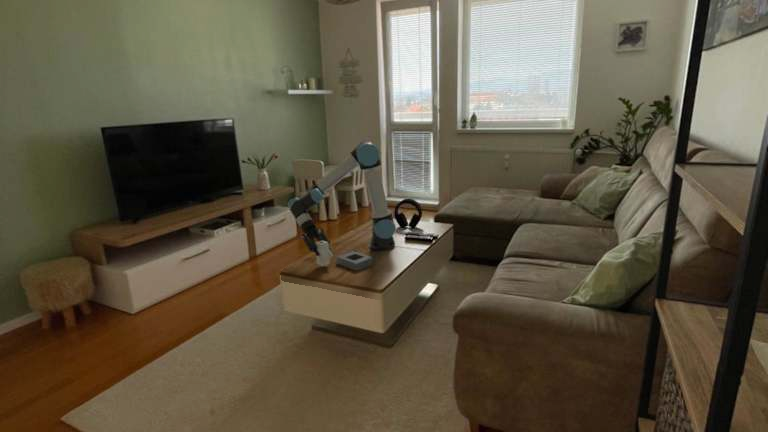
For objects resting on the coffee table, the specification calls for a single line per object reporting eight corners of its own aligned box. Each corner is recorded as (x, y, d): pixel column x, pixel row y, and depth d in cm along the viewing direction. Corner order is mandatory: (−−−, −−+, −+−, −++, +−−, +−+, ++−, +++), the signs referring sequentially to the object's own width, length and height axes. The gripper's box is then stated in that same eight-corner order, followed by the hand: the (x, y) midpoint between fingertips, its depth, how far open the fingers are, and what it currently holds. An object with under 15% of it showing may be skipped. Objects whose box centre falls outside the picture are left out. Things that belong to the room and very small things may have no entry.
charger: (316, 264, 227) (315, 242, 224) (324, 261, 230) (322, 239, 227) (322, 266, 223) (320, 244, 220) (329, 263, 227) (328, 241, 224)
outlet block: (336, 263, 232) (336, 256, 231) (353, 257, 240) (353, 251, 239) (356, 270, 221) (356, 263, 220) (373, 264, 229) (373, 257, 228)
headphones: (394, 228, 295) (393, 200, 290) (396, 225, 301) (396, 198, 296) (420, 229, 290) (420, 201, 285) (422, 227, 296) (422, 199, 291)
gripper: (316, 223, 239) (337, 257, 232) (289, 231, 226) (310, 267, 220) (322, 215, 234) (343, 250, 227) (294, 223, 221) (316, 259, 215)
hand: (327, 258), depth 223 cm, fingers closed on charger, 5 cm apart
